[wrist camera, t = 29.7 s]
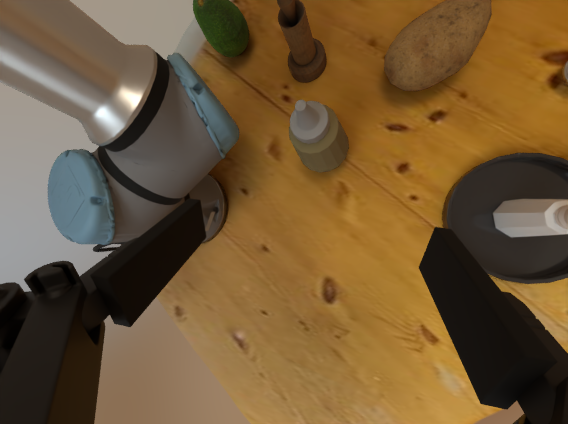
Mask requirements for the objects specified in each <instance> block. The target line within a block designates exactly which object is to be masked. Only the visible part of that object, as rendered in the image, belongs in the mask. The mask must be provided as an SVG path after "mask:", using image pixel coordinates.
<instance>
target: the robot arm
mask: <svg viewBox="0 0 568 424" xmlns="http://www.w3.org/2000/svg"><path fill="white" fill-rule="evenodd" d="M167 59H168V60H165V59H163V58H162V57H161V56H160V55H159V54H158V53H156V52H155V51H154V50H153V49H152V48H151V47H149V46H147V45H125V44H123V43H121V42H120V41H118V40H117V39H116V38H115V37H113V36H112V35H111V34H110V33H109V32H107V31H106V30H105V29H104V28H102V27H101V26H100V25H99V24H97V23H96V22H95V21H94V20H93V19H91V18H90V17H89V16H87V14H85V13H84V12H83V11H82V10H80V9H79V8H78V7H77V6H76V5H74V4H73V3H72V2H70V1H69V0H0V82H2V83H4V84H6V85H8V86H10V87H12V88H14V89H16V90H18V91H20V92H22V93H24V94H26V95H28V96H30V97H32V98H34V99H37V100H39V101H41V102H43V103H45V104H47V105H49V106H51V107H53V108H55V109H57V110H59V111H61V112H63V113H65V114H67V115H69V116H71V117H73V118H76V119H78V120H79V121H80V122H81V123H82V125H83V127H84V129H85V131H86V133H87V135H88V137H89V139H90V141H91V142H92V143H94V144H96V145H99V147H98V148H97V150H96V151H95V152H93V153H90V152H89V151H87V150H83V149H80V150H67V151H65V152H63V153H61V154H60V156H58V157H57V159H56V160H55V162H54V164H53V166H52V169H51V172H50V175H49V180H48V203H49V208H50V212H51V216H52V219H53V221H54V223H55V225H56V227H57V228H58V230H59V231H60V233H61V234H62V235H63V236H64V237H66V238H67V239H68V240H70V241H72V242H76V243H78V244H98V245H97V246H95V247H94V248H93V251H95V252H106V251H113V252H112V253H110V254H109V255H108V257H105V258H104V259H102V260H101V261H100V262H98V263H97V264H96V265H95V266H93V267H92V268H90V269H89V270H88V271H87V272H85V273H84V274H82V275H81V276H80V277H79V275H78V273H77V271H76V269H75V268H74V266H73V264H72V263H71V262H69V261H59V262H53V263H50V264H47V265H44V266H42V267H40V268H38V269H36V270H34V271H33V272H31V273H30V274H28V276H27V277H26V278H25V279H24V280H25V282H26V283H27V285H28V286H29V288H30V289H31V292H24V291H23V289H22V288H21V287H20V285H19V284H17V283H4V284H0V424H94V420H95V412H96V403H97V394H98V385H99V377H100V369H101V360H102V351H103V343H104V333H105V323H104V320H105V319H106V318H107V316H108V315H110V316H111V318H112V320H113V322H114V324H118V325H123V326H127V327H131V326H132V325H133V323H134V322H135V321H136V320H137V319H138V318H139V316H140V315H141V314H142V313H143V312H144V311H145V309H146V308H147V307H148V306H149V305H150V303H151V302H152V301H153V300H154V299H155V298H156V296H157V295H158V294H159V293H160V292H161V290H162V289H163V288H164V287H165V286H166V285H167V283H168V282H169V281H170V280H171V279H172V278H173V276H174V275H175V274H176V273H177V272H178V270H179V269H180V268H181V267H182V266H183V265H184V263H185V262H186V261H187V260H188V259H189V257H190V256H191V255H192V254H193V253H194V252H195V250H196V249H197V248H198V247H199V246H200V244H202V243H205V242H208V241H210V240H211V239H213V238H214V237H215V236H216V235H217V234H218V233H219V231H220V230H221V228H222V227H223V225H224V222H225V219H226V215H227V198H226V194H225V191H224V189H223V187H222V186H221V184H220V183H219V181H218V180H217V179H216V178H214V177H213V176H211V175H210V174H208V173H209V172H210V171H211V170H212V169H213V168H214V167H215V165H216V164H217V163H218V162H219V161H220V160H221V159H224V158H225V156H226V154H227V153H228V151H229V150H230V149H231V148H232V147H233V146H234V145H235V143H236V142H237V141H238V139H239V129H238V127H237V125H236V123H235V122H234V120H233V119H232V117H231V116H230V115H229V113H228V112H227V111H226V109H225V108H224V107H223V105H222V104H221V103H220V101H219V100H218V99H217V98H216V96H215V95H214V94H213V93H212V91H211V90H210V89H209V88H208V86H207V85H206V84H205V82H204V81H203V80H202V79H201V78H200V76H199V75H198V74H197V73H196V72H195V70H194V69H193V68H192V67H191V66H190V64H189V63H188V62H187V61H186V60H185V59H184V58H183V57H182V56H181V55H180V54H179V53H173V54H172V55H168V57H167ZM111 244H122V245H121V246H120V247H109V248H102V247H105V246H107V245H111ZM419 269H420V271H421V274H422V276H423V278H424V280H425V282H426V285H427V287H428V289H429V291H430V293H431V296H432V298H433V300H434V302H435V304H436V307H437V309H438V311H439V313H440V315H441V318H442V320H443V322H444V324H445V326H446V329H447V331H448V333H449V335H450V337H451V339H452V342H453V344H454V346H455V348H456V350H457V353H458V355H459V357H460V359H461V361H462V364H463V366H464V368H465V370H466V372H467V375H468V377H469V379H470V381H471V383H472V386H473V388H474V390H475V392H476V394H477V397H478V399H479V401H480V403H481V404H484V405H489V406H493V407H498V408H502V409H508V408H509V407H510V406H511V405H512V404H513V403H514V402H516V401H518V403H519V405H520V406H521V408H522V410H523V411H524V414H523V415H522V416H521V417H520V418H519V419H518V420H516V421H515V422H514V423H513V424H568V353H567V352H566V351H565V350H564V349H563V348H562V347H561V345H560V344H559V343H558V342H557V341H556V340H555V338H554V337H553V336H552V335H551V334H550V333H549V331H548V330H545V327H544V326H543V325H542V323H541V322H540V321H539V320H538V319H536V316H535V315H534V314H533V313H532V312H531V311H530V309H529V308H528V307H527V306H526V305H525V304H524V303H523V302H521V301H520V300H519V299H517V298H516V297H515V296H513V295H512V294H511V293H508V292H501V290H500V289H499V288H498V287H497V285H496V284H495V283H494V282H493V280H492V279H491V278H490V277H489V275H488V274H487V273H486V272H485V270H484V269H483V268H482V267H481V265H480V264H479V263H478V262H477V260H476V259H475V258H474V257H473V255H472V254H471V253H470V252H469V250H468V249H467V248H466V247H465V245H464V244H463V243H462V242H461V241H460V239H459V238H458V237H457V236H456V234H455V233H454V232H453V231H452V229H447V228H438V227H435V229H434V231H433V234H432V236H431V239H430V241H429V243H428V246H427V248H426V251H425V253H424V256H423V258H422V261H421V263H420V266H419Z"/></svg>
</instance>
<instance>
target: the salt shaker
mask: <svg viewBox="0 0 568 424" xmlns="http://www.w3.org/2000/svg"><path fill="white" fill-rule="evenodd" d="M493 217H494V222H495V227H496V228H497V229H498V230H500V231H501V232H503V233H505V234H506V235H508V236H510V237H527V236H547V235H562V234H568V199H517V200H509V201H503V202H502V204H501V205H500V206H499V207H498V208H497V209H496V210H495V211H494V212H493Z"/></svg>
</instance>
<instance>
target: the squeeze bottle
mask: <svg viewBox="0 0 568 424" xmlns="http://www.w3.org/2000/svg"><path fill="white" fill-rule="evenodd" d="M289 137H290V140H291V142H292V144H293V146H294V147H295V149H296V151H297V153H298V155H299V157H300V158H301V160H302V162H303V164H304V165H305V166H307V167H308V168H309V169H310V170H313V171H317V172H326V171H331V170H332V169H334V168H336V167H338V166H339V165H340V164H341V163H342V162H343V160H344V159H345V158H346V155H347V152H348V149H349V144H348V137H347V135H346V133H345V132H344V130H343V128H342V126H341V124H340V122H339V120H338V118H337V116H336V115H335V113H334V111H333V110H332V109H330V108H329V107H328V106H326V105H322V104H320V103H319V102H315V101H308V102H305V101H304V100H299V101H297V103H296V104H295V110H294V111H293V113H292V115H291V118H290V127H289Z"/></svg>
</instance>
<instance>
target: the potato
mask: <svg viewBox="0 0 568 424" xmlns="http://www.w3.org/2000/svg"><path fill="white" fill-rule="evenodd" d="M490 17H491V0H446V1H444V2H442V3H440V4H438V5H437V6H435V7H433V8H432V9H430V10H428V11H427V12H425V13H424V14H422V15H421V16H419V17H418V18H416V19H415V20H413V21H412V22H411V23H410V24H408V25H407V26H406V27H405V28H404V29H402V31H401V32H400V33H399V34H398V36H397V37H396V38H395V40H394V41H393V43H392V44H391V45H390V47H389V49H388V51H387V53H386V55H385V63H384V71H385V73H386V75H387V77H388V79H389V81H390V83H391V84H393V85H395V86H396V87H398V88H400V89H402V90H404V91H419V90H423V89H427V88H429V87H431V86H433V85H435V84H437V83H439V82H441V81H442V80H444V79H446V78H447V77H449V76H451V75H453V74H455V73H456V72H457V71H459V70H460V69H461V68H462V67H463V66H464V65H465V64H466V63H467V62H468V61H469V59H470V57H471V56H472V54H473V52H474V50H475V49H476V47H477V45H478V43H479V41H480V40H481V38H482V36H483V34H484V32H485V30H486V28H487V25H488V23H489V20H490Z"/></svg>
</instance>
